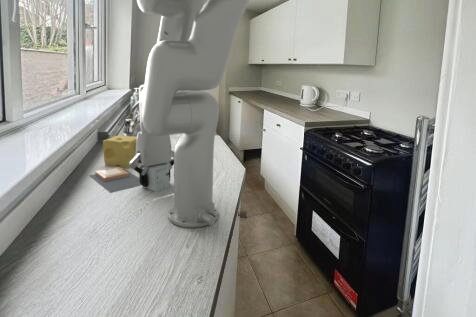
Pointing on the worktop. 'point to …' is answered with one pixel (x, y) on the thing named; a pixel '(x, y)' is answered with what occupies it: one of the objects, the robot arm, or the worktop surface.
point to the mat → (118, 182)
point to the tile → (111, 173)
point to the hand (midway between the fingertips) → (155, 182)
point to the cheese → (119, 150)
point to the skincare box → (157, 176)
